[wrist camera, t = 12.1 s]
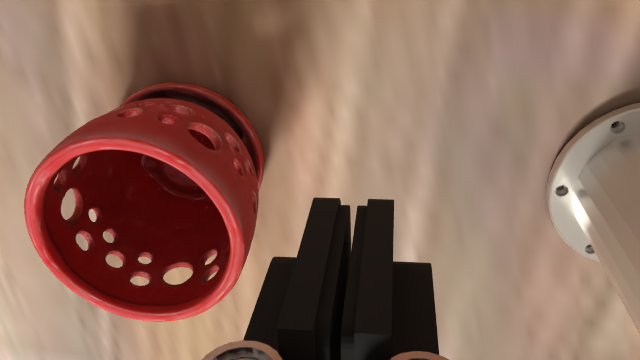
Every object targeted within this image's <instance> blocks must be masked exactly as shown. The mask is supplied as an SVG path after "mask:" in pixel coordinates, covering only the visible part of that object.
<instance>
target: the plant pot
mask: <svg viewBox="0 0 640 360" xmlns="http://www.w3.org/2000/svg"><path fill="white" fill-rule="evenodd" d="M79 156H80V159H79V162H78V164H77V165H76V166H75V167H74V168H73V165H74V162H75V161H76V159H77V158H78V157H79ZM72 168H73V169H72ZM263 171H264V159H263V152H262V148H261V144H260V141H259V139H258V136H257V134H256V132H255V130H254V128H253V127H252V125H251V123H250V122H249V121H248V119H247V118H246V117H245V116H244V114H243V113H242V112H241V111H240V110H239V109H238V108H237V107H236V106H234V105H233V104H232V103H231V102H229V101H228V100H227V99H225V98H224V97H222V96H221V95H219V94H217V93H215V92H213V91H211V90H209V89H206V88H203V87H200V86H197V85H193V84H187V83H161V84H156V85H152V86H149V87H146V88H143V89H141V90H139V91H137V92H135V93H134V94H132V95H131V96H130V97H128V98H127V99H126V100H125V101H124V102H123V103H122V104H121V105H120V107H118V108H116V109H114V110H112V111H111V112H109V113H107V114H105V115H102V116H100V117H98V118H95V119H93V120H91V121H89V122H88V123H86V124H85V125H83V126H82V127H80V128H79V129H77V130H76V131H74V132H73V133H72V134H70V135H69V136H68V137H66V138H65V139H64V140H63V141H62V142H60V143H59V144H58V145H57V146H56V147H55V148H54V149H53V150H52V151H51V152H50V153H49V154H48V155H47V156H46V157H45V158H44V159H43V160H42V162H41V163H40V164H39V165H38V167H37V168H36V169H35V171H34V173H33V175H32V176H31V178H30V180H29V183H28V186H27V189H26V194H25V200H24V209H25V210H24V214H25V220H26V225H27V230H28V233H29V236H30V238H31V241H32V243H33V245H34V247H35V249H36V251H37V253H38V254H39V256H40V257H41V259H42V260H43V262H44V263H45V264H46V266H47V267H48V268H49V269H50V270H51V272H52V273H53V274H54V275H55V276H56V277H57V278H58V279H59V280H60V281H61V282H62V283H63V284H65V285H66V286H67V287H68V288H69V289H71V290H72V291H73V292H75V293H76V294H78V295H79V296H81V297H82V298H84V299H85V300H87V301H89V302H90V303H92V304H94V305H96V306H98V307H100V308H102V309H104V310H107V311H109V312H111V313H114V314H117V315H120V316H123V317H127V318H131V319H137V320H143V321H156V322H162V321H175V320H181V319H185V318H189V317H193V316H196V315H198V314H200V313H203V312H204V311H206V310H208V309H210V308H211V307H213V306H214V305H216V304H217V303H219V302H220V301H221V300H222V299H223V298H224V297H225V296H226V295H227V294H228V293H229V292H230V291H231V290H232V288H233V287H234V285H235V284H236V282H237V280H238V278H239V276H240V274H241V271H242V269H243V266H244V264H245V262H246V259H247V256H248V253H249V250H250V246H251V242H252V239H253V235H254V231H255V226H256V219H257V212H258V191H259V188H260V186H261V182H262V179H263ZM58 173H59V174H58ZM57 174H58V178H57V180H56V182H55V183H54V181H55V178H56V177H57ZM70 188H72V189H73V191H74V195H75V199H76V206H75V210H74V213H73V215H72V216H71V217H70V218H69V219H68V220H65V219H64V218H63V217H62V214H61V204H62V200H63V197H64V196H65V194H66V192H67V191H68V190H69V189H70ZM90 209H93V210H94V211H95V213H96V217H97V219H96V221H95V222H92V221H91V220H90V218H89V214H88V212H89V210H90ZM104 231H107V232H110V233H111V234H112V235H113V237H114V241H113V243H108V242H106V241H105V240H104V238H103V232H104ZM77 234H81V235H83V236H84V237H85V238H86V240H87V242H88V250H87V251H84V250H82V249H81V248H80V247H79V245H78V244H77V243H76V235H77ZM109 254H113V255H116V256H118V257H119V258H120V259H121V260H122V262H123V266H122V267H120V268H114V267H111V266H110V265H108V264H107V262H106V260H105V258H106V256H107V255H109ZM214 254H217V256H216V258H215V259H214V260H213V261H212V262H211V263H210V264H207V265H205V262H206V261H207V259H208V258H210V257H211V256H212V255H214ZM142 256H144V257H148V258H150V259H151V261H152V262H150V263H149V264H142V263H140V262H139V261H138V258H139V257H142ZM178 267H186V268H190V269H191V270H192V271H193V274H192V276H191V277H190V278H189V279H188V280H187V281H186V282H184V283H182V284H178V285H171V284H168V283H166V282H165V281H164V280H163V276H164V274H165V273H166V272H168V271H169V270H171V269H174V268H178ZM217 271H218V272H217ZM215 272H217V273H216V275H215V276H214V277H213V278H211V279H210V280H208V279H209V277H210V276H211V275H212V274H213V273H215ZM135 276H141V277H145V278H146V279H148V280H149V284H147V285H145V286H138V285H134V284H132V283H131V282H130V279H131V278H132V277H135ZM207 280H208V281H207Z"/></svg>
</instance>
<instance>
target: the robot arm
mask: <svg viewBox="0 0 640 360" xmlns="http://www.w3.org/2000/svg"><path fill="white" fill-rule="evenodd" d="M616 121H617V122H616ZM614 122H616V124H615V125H612V124H613V123H614ZM611 125H612V126H611ZM559 186H561V187H559ZM557 187H558V188H557ZM546 203H547V207H548V211H549V215H550V218H551V220H552V222H553V224H554V226H555V229H556V230H557V232H558V233H559V234H560V236H561V237H562V239H563V240H564V241H565V242H566V243H567V244H568V245H569V246H570V247H571V248H572V249H574V250H575V251H576V252H578V253H580V254H581V255H583V256H585V257H587V258H589V259H592V260H595V261H597V262H600V263H601V264H602V266H603V268H604V270H605V271H606V273H607V275H608V277H609V279H610V280H611V282H612V284H613V286H614V288H615V290H616V291H617V293H618V295H619V297H620V299H621V300H622V302H623V304H624V306H625V308H626V310H627V311H628V313H629V315H630V317H631V319H632V320H633V322H634V324H635V326H636V328H637V330H638V331H639V333H640V103H635V104H631V105H628V106H625V107H622V108H619V109H616V110H613V111H611V112H609V113H607V114H605V115H603V116H601V117H599V118H597V119H595V120H594V121H593V122H591V123H590V124H588V125H587V126H586V127H584V128H583V129H582V130H580V131H579V132H578V133H577V134H576V135H575V136H574V137H573V138H572V139H571V140H570V141H569V142H568V143H567V144H566V145H565V147H564V148H563V150H562V151H561V153H560V154H559V155H558V157H557V158H556V160H555V163H554V165H553V167H552V169H551V171H550V174H549V178H548V183H547V188H546ZM393 228H394V200H383V199H368V204H367V206H358V207H357V214H356V221H355V228H354V236H353V243H352V251H351V222H350V205H341V201H340V198H314V199H313V202H312V205H311V209H310V213H309V216H308V220H307V223H306V227H305V230H304V234H303V237H302V241H301V244H300V248H299V251H298V255H297V258H295V257H274V258H273V259H272V261H271V263H270V266H269V268H268V271H267V274H266V277H265V280H264V283H263V286H262V288H261V291H260V294H259V297H258V300H257V303H256V305H255V308H254V311H253V314H252V317H251V320H250V323H249V325H248V328H247V331H246V334H245V337H244V340H243V341H237V342H231V343H227V344H225V345H222V346H220V347H218V348H216V349H214V350H213V351H211V352H210V353H209V354H207V355H206V356H205V357H204V358H203V359H202V360H448V359H447V358H445V357H443V356H440V355H439V348H438V336H437V325H436V313H435V301H434V290H433V278H432V267H431V263H416V262H393Z"/></svg>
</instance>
